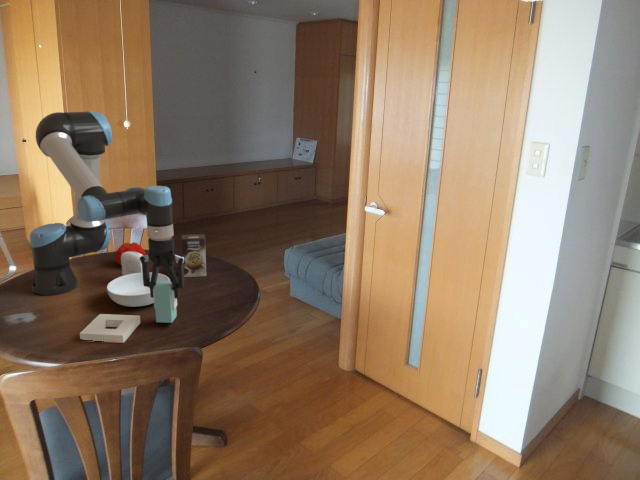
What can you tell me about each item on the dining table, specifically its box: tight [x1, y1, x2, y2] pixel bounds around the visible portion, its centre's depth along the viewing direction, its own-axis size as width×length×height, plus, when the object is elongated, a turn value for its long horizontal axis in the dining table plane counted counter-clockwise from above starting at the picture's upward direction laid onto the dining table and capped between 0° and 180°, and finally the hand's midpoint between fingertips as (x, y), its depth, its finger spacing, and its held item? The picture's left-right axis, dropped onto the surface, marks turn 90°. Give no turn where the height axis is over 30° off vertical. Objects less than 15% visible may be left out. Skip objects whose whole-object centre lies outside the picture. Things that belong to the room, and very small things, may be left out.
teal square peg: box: [154, 280, 178, 324], centre depth 157 cm, size 5×5×12 cm
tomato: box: [115, 242, 147, 266], centre depth 206 cm, size 11×12×9 cm
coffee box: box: [181, 233, 207, 278], centre depth 198 cm, size 9×6×16 cm
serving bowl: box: [106, 271, 171, 308], centre depth 174 cm, size 21×21×7 cm
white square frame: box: [79, 313, 141, 344], centre depth 152 cm, size 13×13×2 cm
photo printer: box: [120, 251, 143, 276], centre depth 188 cm, size 10×4×12 cm, turn 69°
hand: (165, 306), depth 157 cm, fingers closed on teal square peg, 5 cm apart
